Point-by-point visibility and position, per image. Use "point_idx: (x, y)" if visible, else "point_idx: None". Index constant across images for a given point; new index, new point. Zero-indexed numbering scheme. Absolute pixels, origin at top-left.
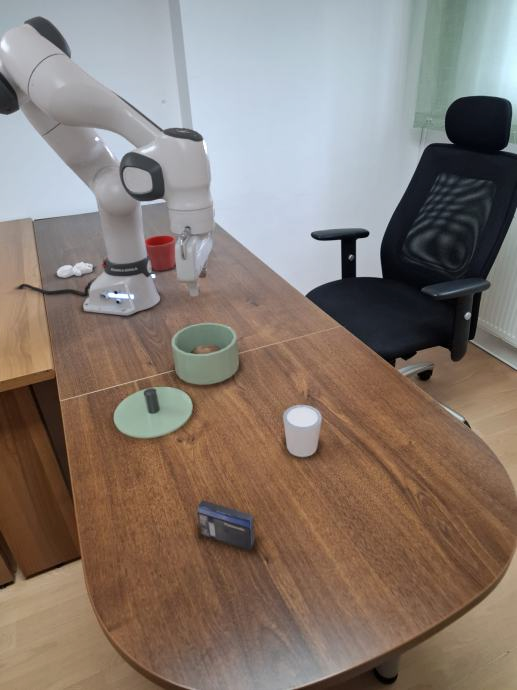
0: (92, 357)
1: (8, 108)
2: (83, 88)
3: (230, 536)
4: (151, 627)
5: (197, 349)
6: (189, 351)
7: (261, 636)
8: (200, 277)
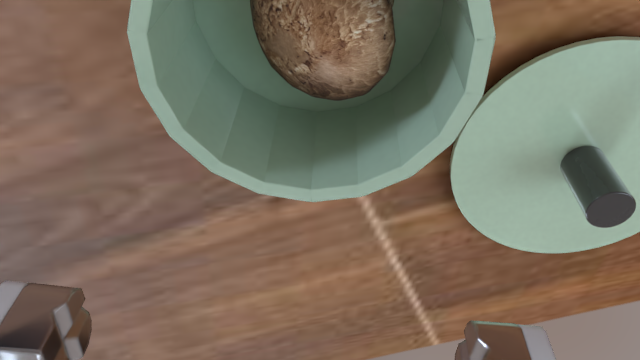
0: (244, 331)
1: None
2: None
3: None
4: None
5: (349, 78)
6: (233, 89)
7: None
8: (89, 320)
